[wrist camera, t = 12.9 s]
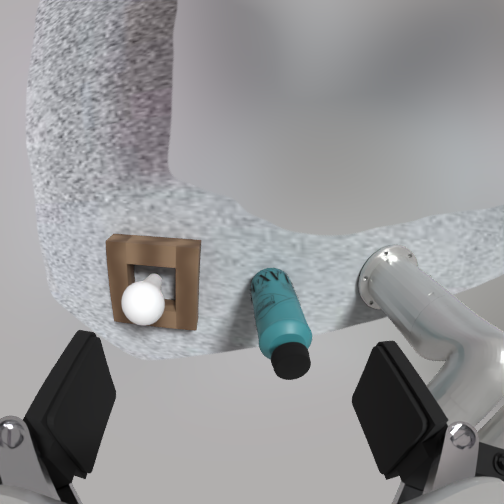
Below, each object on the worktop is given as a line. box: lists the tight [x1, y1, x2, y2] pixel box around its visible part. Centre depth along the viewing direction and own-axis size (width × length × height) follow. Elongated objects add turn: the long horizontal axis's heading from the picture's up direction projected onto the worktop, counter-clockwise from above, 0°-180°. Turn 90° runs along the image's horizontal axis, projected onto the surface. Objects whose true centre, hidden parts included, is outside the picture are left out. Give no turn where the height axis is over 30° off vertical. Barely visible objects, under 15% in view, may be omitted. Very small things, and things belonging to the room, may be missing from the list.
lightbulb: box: [121, 273, 165, 325], centre depth 39 cm, size 6×6×11 cm
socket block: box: [106, 234, 201, 330], centre depth 43 cm, size 14×14×4 cm
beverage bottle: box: [250, 268, 312, 380], centre depth 37 cm, size 6×7×20 cm
